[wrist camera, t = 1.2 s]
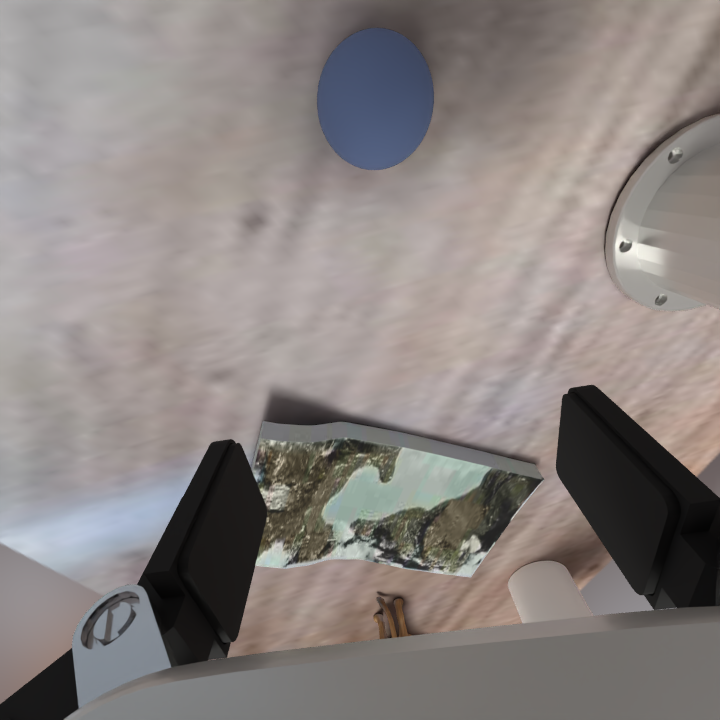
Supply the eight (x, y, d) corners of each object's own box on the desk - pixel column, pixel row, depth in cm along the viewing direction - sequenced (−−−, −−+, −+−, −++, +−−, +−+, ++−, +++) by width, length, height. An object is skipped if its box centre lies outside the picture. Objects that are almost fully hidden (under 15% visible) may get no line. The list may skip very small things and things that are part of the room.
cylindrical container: (560, 553, 42) (810, 989, 20) (574, 586, 45) (804, 996, 23) (500, 573, 43) (670, 1006, 21) (517, 604, 46) (682, 1010, 24)
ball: (409, 32, 20) (433, -17, 15) (430, 153, 23) (457, 147, 18) (305, 68, 21) (293, 34, 16) (337, 182, 24) (336, 186, 18)
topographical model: (532, 458, 36) (557, 503, 32) (460, 542, 44) (473, 587, 40) (266, 405, 30) (255, 452, 26) (239, 513, 38) (228, 562, 34)
